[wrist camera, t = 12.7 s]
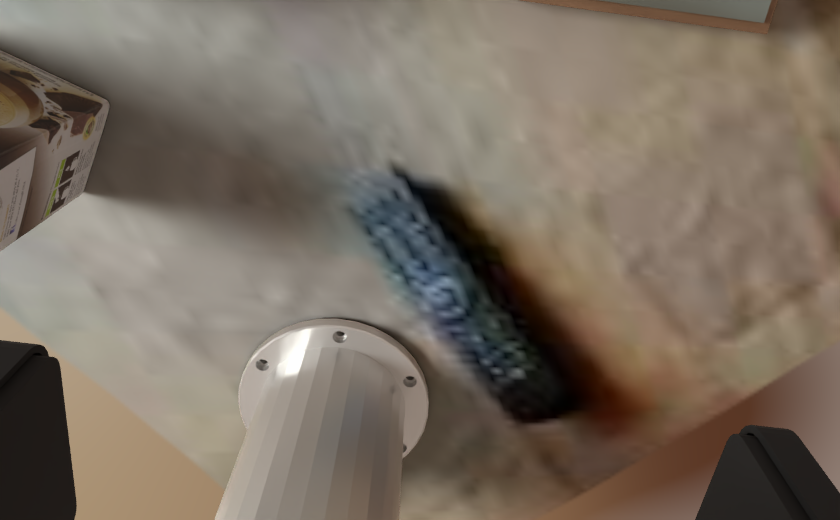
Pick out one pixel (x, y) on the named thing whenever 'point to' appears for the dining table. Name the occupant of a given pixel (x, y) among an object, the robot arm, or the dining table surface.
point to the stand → (687, 11)
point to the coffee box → (42, 144)
